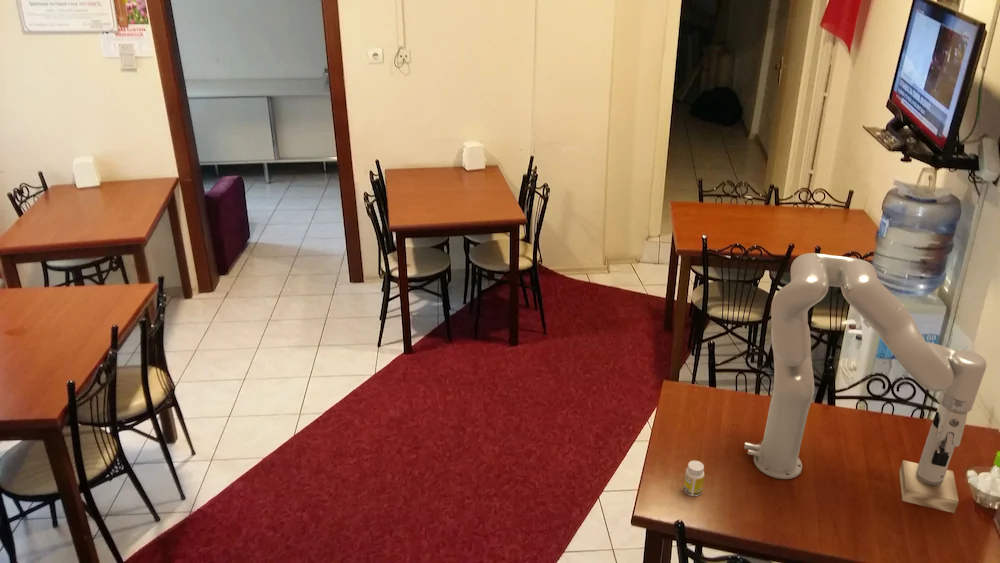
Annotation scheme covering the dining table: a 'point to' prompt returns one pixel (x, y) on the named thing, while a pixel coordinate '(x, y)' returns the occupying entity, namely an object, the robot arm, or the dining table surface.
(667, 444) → the dining table surface
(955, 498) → the plinth
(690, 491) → the supplement bottle
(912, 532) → the dining table surface
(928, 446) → the travel mug
